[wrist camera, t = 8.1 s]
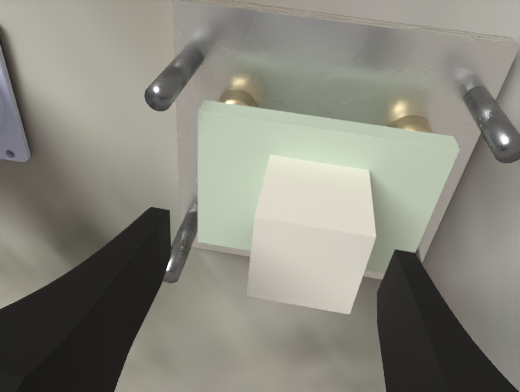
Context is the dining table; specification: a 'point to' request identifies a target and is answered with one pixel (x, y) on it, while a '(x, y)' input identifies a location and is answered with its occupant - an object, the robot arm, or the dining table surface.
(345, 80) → the plate
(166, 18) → the dining table surface
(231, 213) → the sage board
